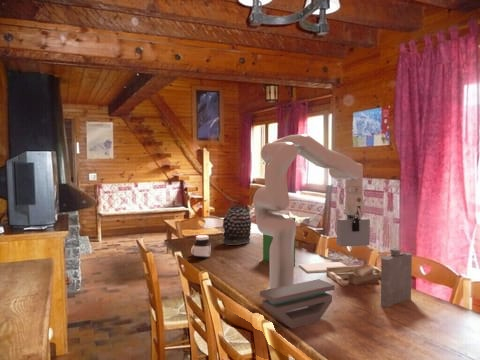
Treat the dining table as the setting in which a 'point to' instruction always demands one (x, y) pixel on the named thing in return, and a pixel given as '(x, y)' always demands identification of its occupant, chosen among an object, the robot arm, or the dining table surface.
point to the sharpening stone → (298, 302)
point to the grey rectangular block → (353, 238)
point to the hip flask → (395, 278)
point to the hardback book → (266, 247)
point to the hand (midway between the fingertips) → (353, 230)
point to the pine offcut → (363, 270)
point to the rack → (345, 273)
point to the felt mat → (319, 266)
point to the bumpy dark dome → (237, 225)
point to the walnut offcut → (363, 279)
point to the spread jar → (201, 247)
